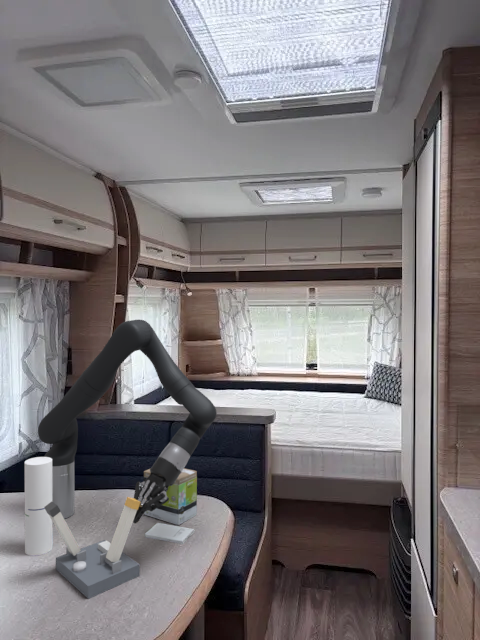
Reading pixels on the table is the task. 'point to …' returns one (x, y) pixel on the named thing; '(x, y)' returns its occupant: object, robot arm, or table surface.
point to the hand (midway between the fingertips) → (132, 521)
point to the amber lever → (122, 530)
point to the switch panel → (96, 569)
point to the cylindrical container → (38, 506)
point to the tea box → (178, 499)
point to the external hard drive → (169, 533)
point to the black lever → (62, 528)
